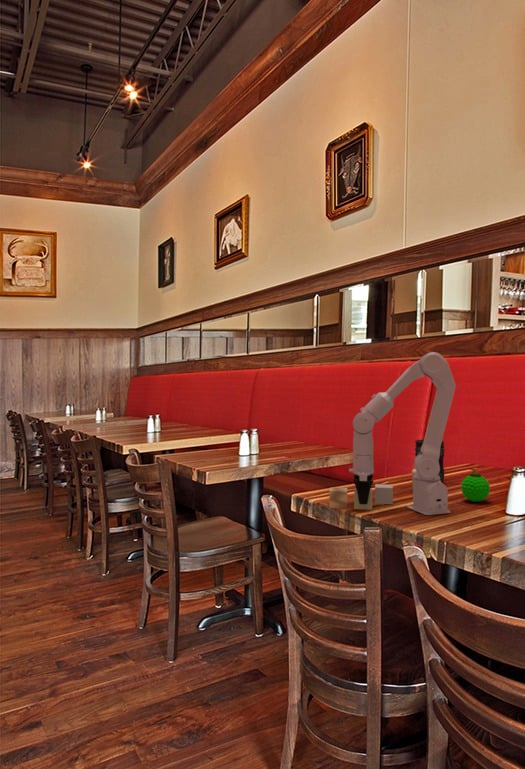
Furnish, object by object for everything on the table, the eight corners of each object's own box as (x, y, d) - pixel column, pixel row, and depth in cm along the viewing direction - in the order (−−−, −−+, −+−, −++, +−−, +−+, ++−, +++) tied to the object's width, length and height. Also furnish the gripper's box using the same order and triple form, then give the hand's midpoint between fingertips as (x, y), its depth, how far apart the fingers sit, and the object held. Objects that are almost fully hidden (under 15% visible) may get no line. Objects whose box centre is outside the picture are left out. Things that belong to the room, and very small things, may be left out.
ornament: (495, 504, 159) (495, 470, 159) (471, 505, 157) (471, 471, 157) (479, 498, 167) (479, 465, 167) (455, 499, 165) (455, 466, 165)
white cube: (391, 501, 164) (392, 484, 164) (392, 505, 159) (392, 488, 159) (375, 500, 164) (375, 484, 164) (375, 504, 160) (375, 487, 160)
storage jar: (414, 485, 187) (414, 442, 187) (415, 480, 196) (415, 439, 196) (445, 487, 184) (445, 443, 184) (444, 481, 193) (444, 440, 193)
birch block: (347, 505, 159) (347, 488, 159) (347, 509, 154) (347, 491, 154) (330, 504, 160) (330, 487, 160) (329, 508, 155) (329, 490, 155)
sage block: (371, 505, 158) (371, 488, 158) (372, 510, 153) (372, 492, 153) (354, 505, 159) (354, 488, 159) (354, 509, 154) (354, 491, 154)
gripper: (349, 450, 163) (349, 495, 164) (348, 457, 149) (348, 506, 149) (373, 451, 162) (373, 496, 162) (374, 458, 148) (374, 507, 148)
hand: (363, 501), depth 156 cm, fingers open, 6 cm apart
